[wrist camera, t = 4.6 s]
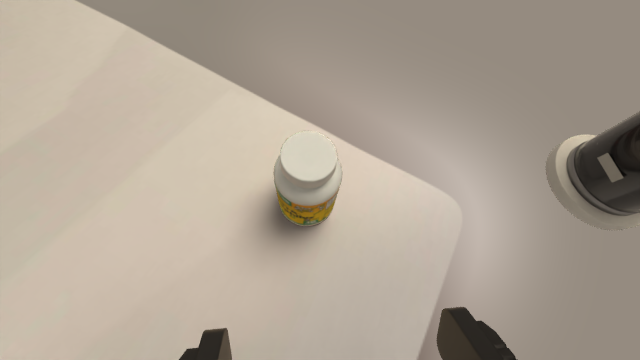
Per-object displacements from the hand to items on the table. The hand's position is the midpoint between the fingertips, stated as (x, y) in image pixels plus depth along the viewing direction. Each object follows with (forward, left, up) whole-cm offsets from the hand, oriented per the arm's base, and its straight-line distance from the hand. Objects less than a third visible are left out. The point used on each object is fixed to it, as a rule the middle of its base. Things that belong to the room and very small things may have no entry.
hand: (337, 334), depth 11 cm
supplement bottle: (+3, -10, -16) cm, 19 cm away
